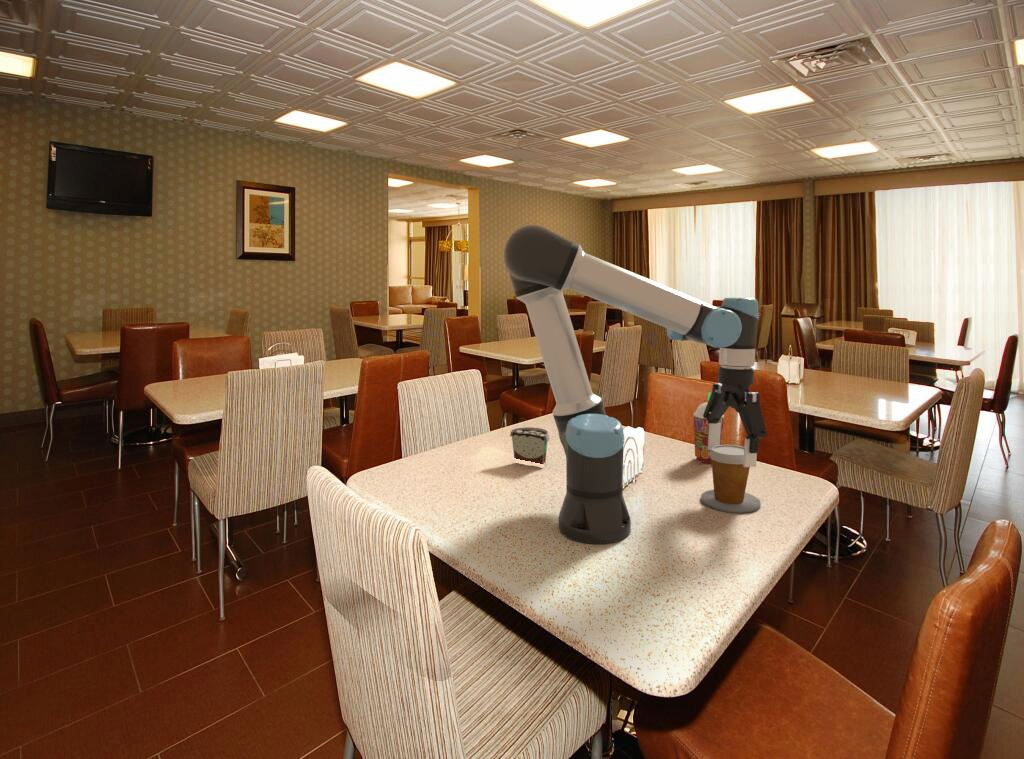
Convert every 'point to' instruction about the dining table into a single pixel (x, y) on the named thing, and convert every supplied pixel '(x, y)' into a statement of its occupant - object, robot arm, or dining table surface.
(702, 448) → the smoothie
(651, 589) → the dining table surface
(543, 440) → the food container
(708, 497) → the coaster
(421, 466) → the dining table surface
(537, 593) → the dining table surface
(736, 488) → the disposable coffee cup
